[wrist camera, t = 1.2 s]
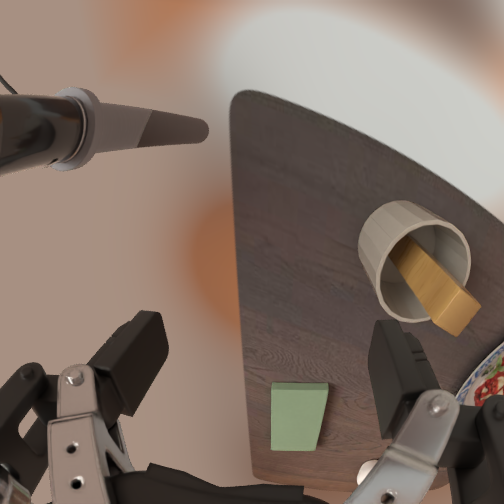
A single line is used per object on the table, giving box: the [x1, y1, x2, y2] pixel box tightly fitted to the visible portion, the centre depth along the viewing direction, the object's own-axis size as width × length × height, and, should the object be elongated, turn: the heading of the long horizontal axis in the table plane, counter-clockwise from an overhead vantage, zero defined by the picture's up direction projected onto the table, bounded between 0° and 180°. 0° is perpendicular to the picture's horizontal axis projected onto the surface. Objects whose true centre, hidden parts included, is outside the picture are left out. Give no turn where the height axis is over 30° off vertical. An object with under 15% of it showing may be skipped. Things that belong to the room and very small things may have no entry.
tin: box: [358, 200, 471, 323], centre depth 26 cm, size 10×10×8 cm
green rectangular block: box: [271, 382, 329, 451], centre depth 41 cm, size 18×8×2 cm, turn 2°
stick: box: [387, 234, 481, 337], centre depth 22 cm, size 3×3×14 cm
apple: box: [357, 460, 378, 485], centre depth 42 cm, size 7×7×8 cm
